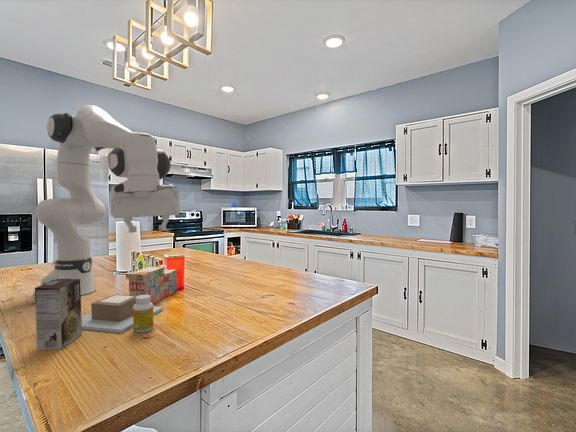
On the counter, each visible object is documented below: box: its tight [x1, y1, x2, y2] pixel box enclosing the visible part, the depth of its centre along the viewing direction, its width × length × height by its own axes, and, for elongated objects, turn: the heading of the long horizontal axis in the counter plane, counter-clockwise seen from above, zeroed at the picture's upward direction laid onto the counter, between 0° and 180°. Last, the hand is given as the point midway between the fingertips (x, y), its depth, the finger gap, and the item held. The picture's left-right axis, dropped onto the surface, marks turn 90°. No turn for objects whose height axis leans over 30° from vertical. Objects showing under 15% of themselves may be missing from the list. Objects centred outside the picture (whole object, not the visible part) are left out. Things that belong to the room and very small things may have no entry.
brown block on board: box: [81, 294, 165, 334], centre depth 100 cm, size 20×20×6 cm
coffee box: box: [34, 279, 83, 351], centre depth 83 cm, size 9×6×16 cm
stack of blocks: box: [128, 266, 178, 304], centre depth 121 cm, size 21×6×12 cm, turn 169°
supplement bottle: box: [132, 295, 154, 333], centre depth 92 cm, size 5×5×10 cm
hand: (147, 231), depth 95 cm, fingers open, 8 cm apart
